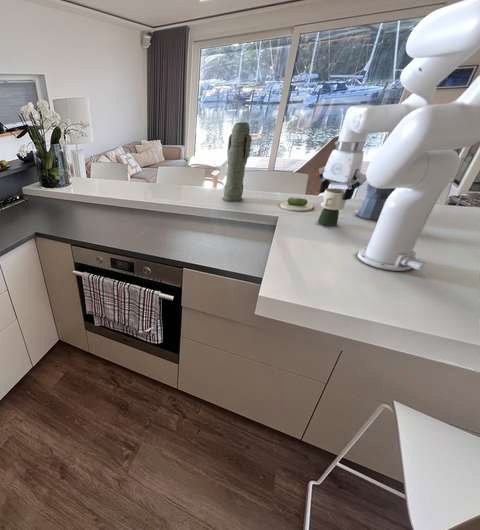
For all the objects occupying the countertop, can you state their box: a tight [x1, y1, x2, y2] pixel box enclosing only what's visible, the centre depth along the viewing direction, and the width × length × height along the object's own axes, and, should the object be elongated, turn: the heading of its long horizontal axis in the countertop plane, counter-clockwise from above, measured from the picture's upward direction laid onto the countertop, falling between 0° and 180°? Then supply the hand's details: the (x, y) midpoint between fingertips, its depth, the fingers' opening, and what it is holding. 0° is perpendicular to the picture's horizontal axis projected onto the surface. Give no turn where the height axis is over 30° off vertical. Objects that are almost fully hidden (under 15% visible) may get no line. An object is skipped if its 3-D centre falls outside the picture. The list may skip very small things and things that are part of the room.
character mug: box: [317, 187, 347, 226], centre depth 108 cm, size 11×7×13 cm, turn 120°
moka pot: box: [356, 182, 396, 221], centre depth 108 cm, size 10×15×20 cm, turn 174°
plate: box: [279, 200, 314, 212], centre depth 130 cm, size 13×13×1 cm
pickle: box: [286, 196, 308, 206], centre depth 129 cm, size 8×3×3 cm, turn 46°
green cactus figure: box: [223, 122, 252, 203], centre depth 137 cm, size 9×12×35 cm
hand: (334, 195), depth 106 cm, fingers open, 9 cm apart
